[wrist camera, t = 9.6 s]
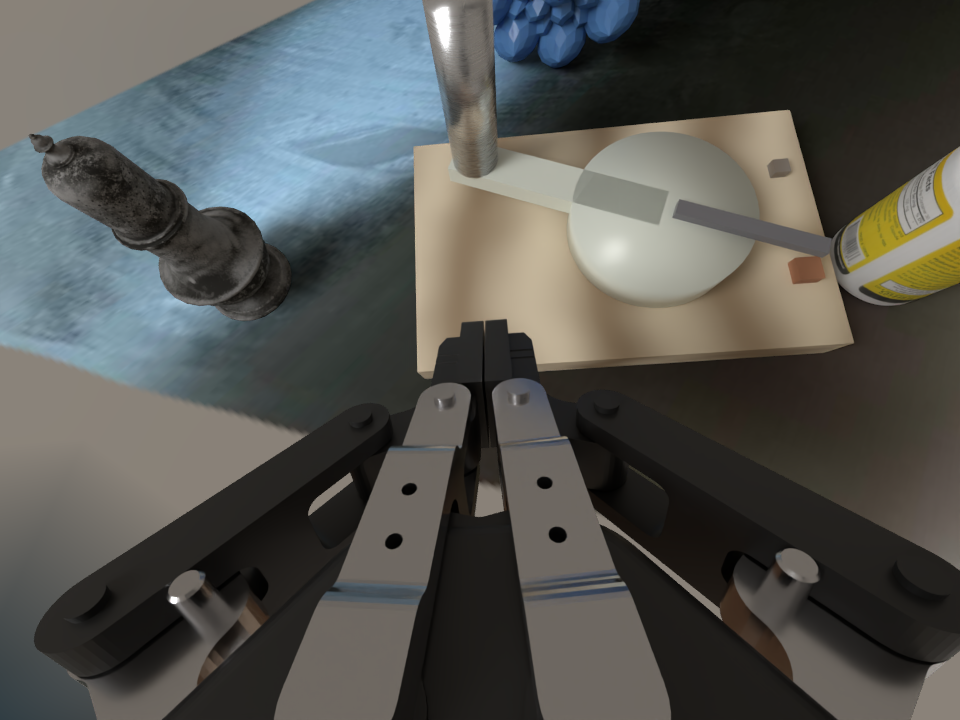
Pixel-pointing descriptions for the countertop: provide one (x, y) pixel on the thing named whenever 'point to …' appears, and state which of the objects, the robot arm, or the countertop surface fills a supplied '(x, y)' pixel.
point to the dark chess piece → (170, 228)
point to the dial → (606, 183)
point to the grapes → (557, 26)
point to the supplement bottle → (904, 240)
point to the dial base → (588, 311)
